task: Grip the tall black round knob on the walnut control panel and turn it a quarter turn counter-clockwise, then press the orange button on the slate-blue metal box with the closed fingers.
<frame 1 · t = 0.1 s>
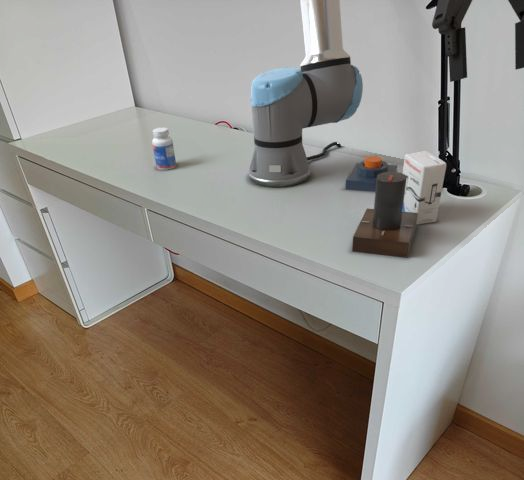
hand: (492, 73, 77), 28 cm above the table, tool tilted 20°, fingers open, 13 cm apart
pill bottle: (166, 167, 136), on the table
button box: (371, 181, 119), on the table
start button: (373, 162, 116), point 4 cm above the table, slide at 0.1 cm
ink box: (416, 216, 103), on the table
dial knob: (389, 200, 91), point 8 cm above the table, hinge at 0.0°
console: (385, 238, 96), on the table
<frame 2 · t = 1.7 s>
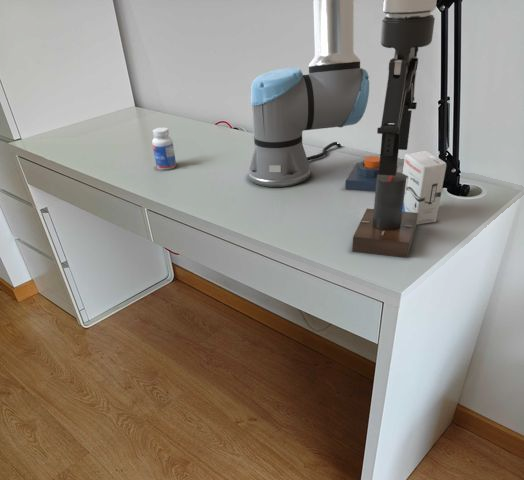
hand: (393, 161, 86), 15 cm above the table, tool pointing down, fingers open, 13 cm apart
nothing on the table moved.
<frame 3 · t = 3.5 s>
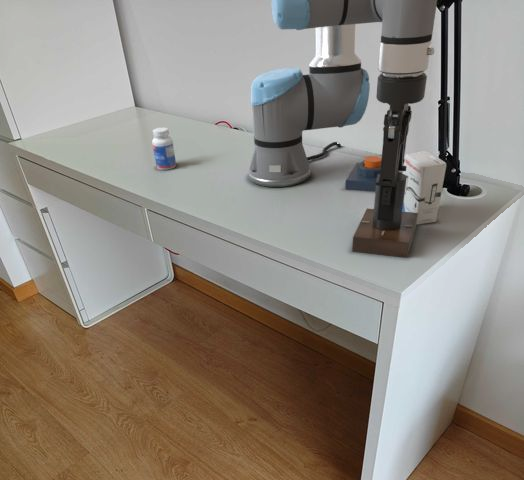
hand: (387, 212, 92), 5 cm above the table, tool pointing down, fingers closed on dial knob, 5 cm apart
dial knob: (389, 200, 91), point 8 cm above the table, hinge at 0.0°, touching gripper
everything else where it was.
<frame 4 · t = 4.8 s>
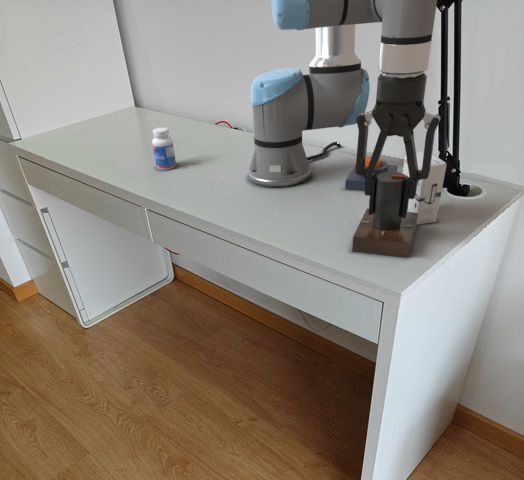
hand: (387, 213, 92), 5 cm above the table, tool pointing down, fingers closed on dial knob, 5 cm apart
dial knob: (389, 200, 91), point 8 cm above the table, hinge at 90.0°, touching gripper
everything else where it was.
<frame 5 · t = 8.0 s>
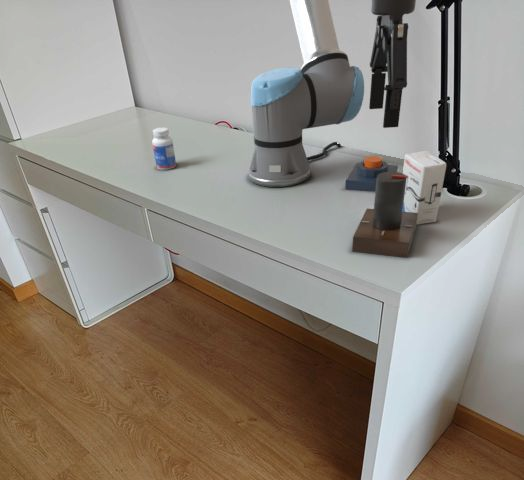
hand: (382, 117, 99), 17 cm above the table, tool pointing down, fingers open, 13 cm apart
dial knob: (389, 200, 91), point 8 cm above the table, hinge at 90.0°
everything else where it was.
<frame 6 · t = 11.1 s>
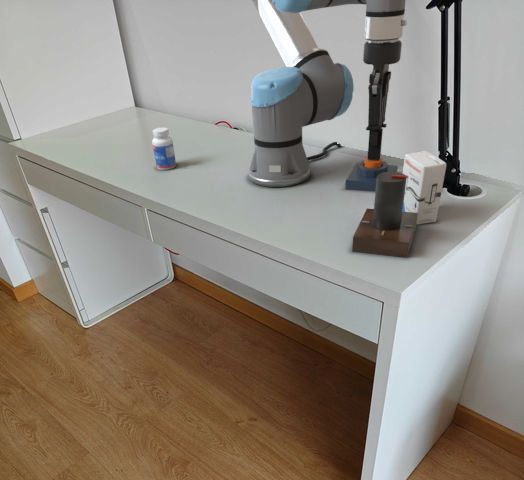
hand: (373, 158, 116), 5 cm above the table, tool pointing down, fingers closed
start button: (373, 163, 116), point 4 cm above the table, slide at -0.1 cm, touching gripper
everything else where it was.
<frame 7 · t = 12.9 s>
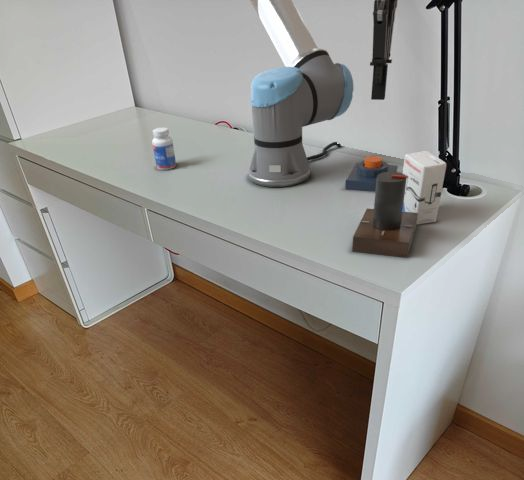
hand: (378, 98, 108), 18 cm above the table, tool pointing down, fingers closed
start button: (373, 162, 116), point 4 cm above the table, slide at 0.1 cm
everything else where it was.
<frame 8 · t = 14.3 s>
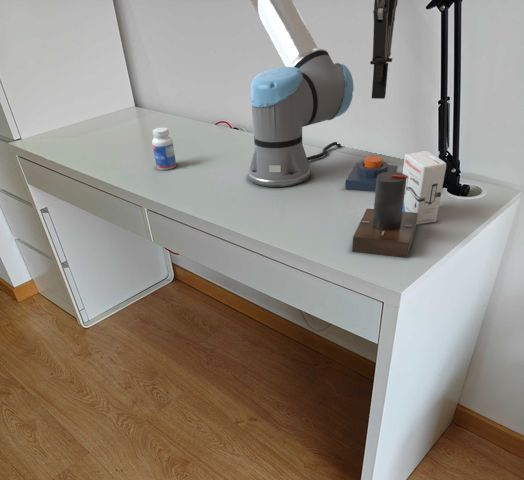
hand: (378, 97, 108), 18 cm above the table, tool pointing down, fingers closed
nothing on the table moved.
at the end: dial knob at +90° (first picture: +0°); start button pushed in 1.0 cm at the most during the clip, back to where it started at the end; start button slide at 0.1 cm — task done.
